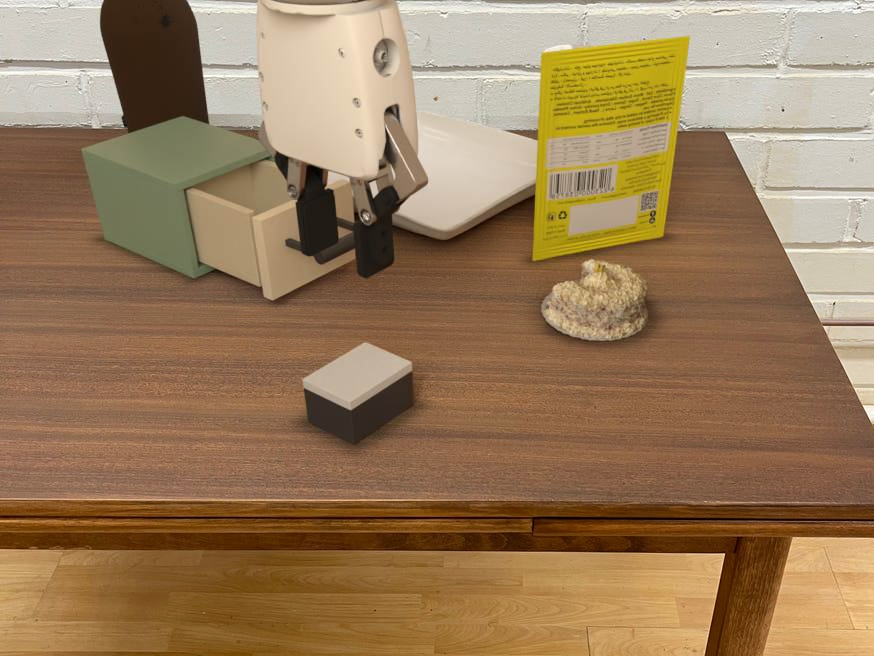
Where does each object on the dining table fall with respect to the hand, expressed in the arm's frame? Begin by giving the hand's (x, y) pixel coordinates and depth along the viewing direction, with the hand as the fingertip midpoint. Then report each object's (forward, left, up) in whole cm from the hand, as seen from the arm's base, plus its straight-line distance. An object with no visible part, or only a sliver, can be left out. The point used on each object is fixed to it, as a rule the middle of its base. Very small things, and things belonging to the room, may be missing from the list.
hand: (347, 257), depth 67 cm
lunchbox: (0, 0, -13) cm, 13 cm away
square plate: (+38, +25, -14) cm, 47 cm away
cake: (+25, -6, -14) cm, 29 cm away
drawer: (+13, +22, -12) cm, 29 cm away
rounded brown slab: (+26, +56, -14) cm, 63 cm away
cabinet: (+13, +36, -13) cm, 41 cm away
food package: (+37, +1, -14) cm, 39 cm away
